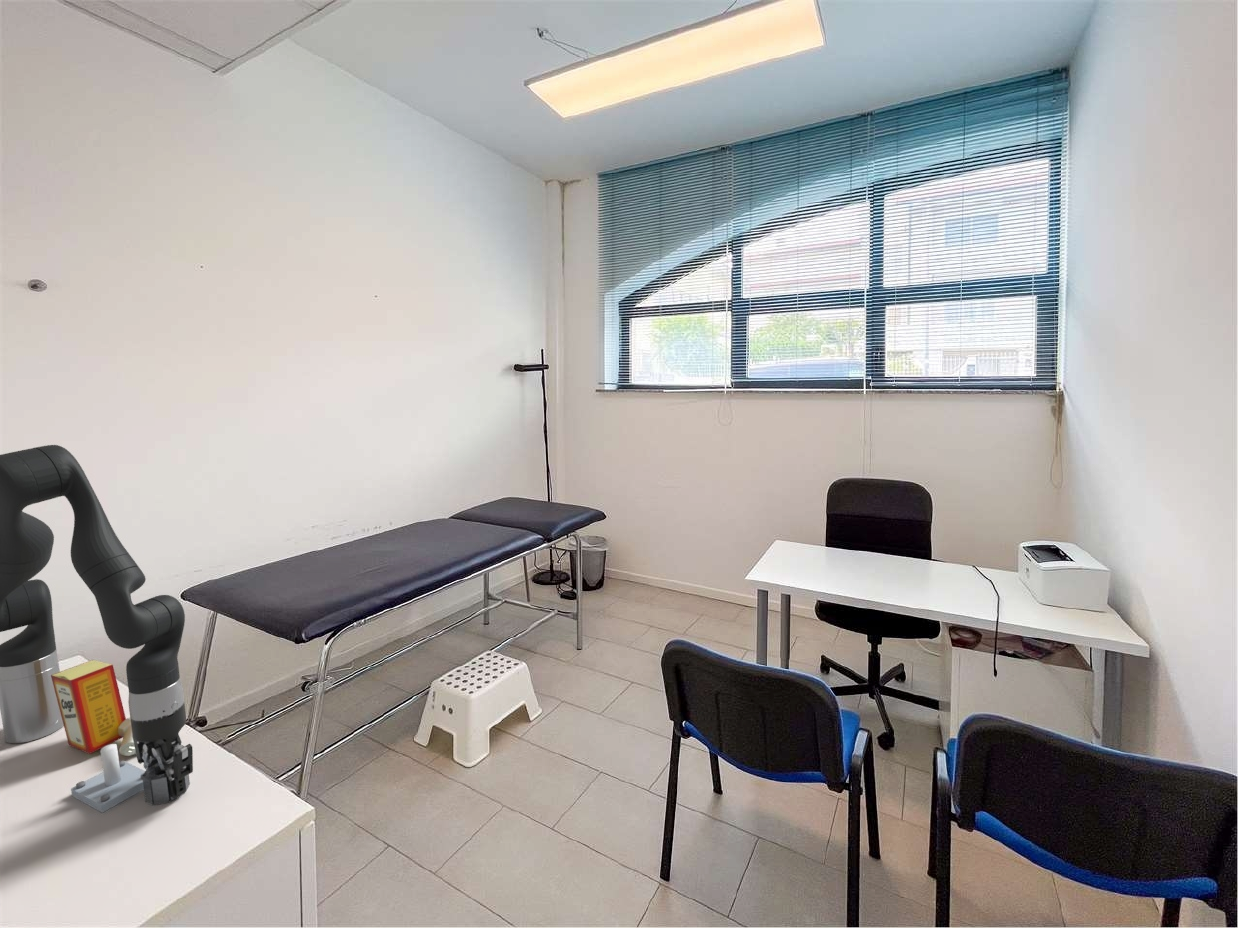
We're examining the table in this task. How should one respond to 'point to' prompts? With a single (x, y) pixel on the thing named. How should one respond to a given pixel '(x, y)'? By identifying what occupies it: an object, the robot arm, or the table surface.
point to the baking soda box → (89, 705)
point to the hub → (158, 785)
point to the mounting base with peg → (110, 782)
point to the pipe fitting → (126, 738)
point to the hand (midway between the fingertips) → (167, 789)
